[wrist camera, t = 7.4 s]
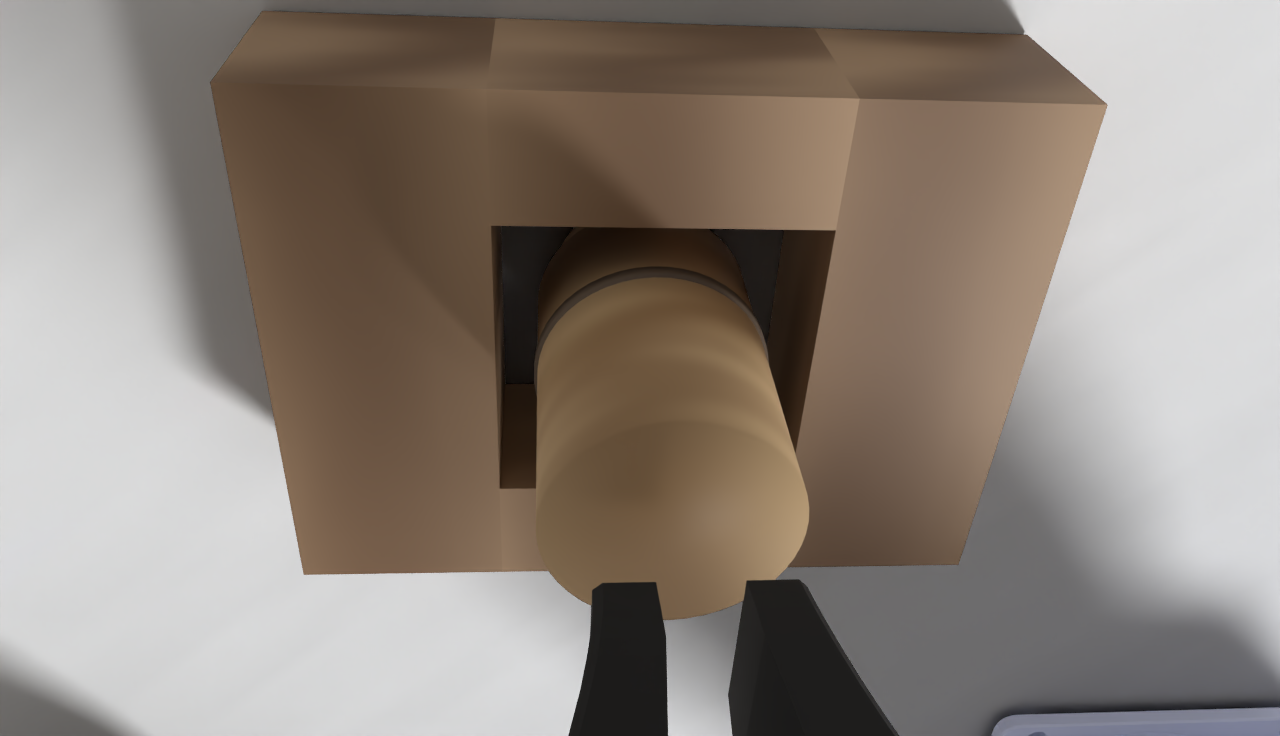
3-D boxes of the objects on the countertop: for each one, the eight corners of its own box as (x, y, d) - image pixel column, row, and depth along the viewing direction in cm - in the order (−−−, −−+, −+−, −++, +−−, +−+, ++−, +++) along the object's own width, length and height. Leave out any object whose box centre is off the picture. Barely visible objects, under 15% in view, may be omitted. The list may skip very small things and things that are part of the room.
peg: (744, 177, 18) (826, 410, 13) (733, 353, 20) (799, 614, 15) (529, 184, 18) (523, 424, 13) (540, 361, 20) (540, 629, 15)
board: (1026, 34, 17) (1107, 105, 14) (913, 460, 22) (958, 565, 20) (262, 11, 16) (210, 82, 13) (332, 463, 21) (303, 574, 19)
